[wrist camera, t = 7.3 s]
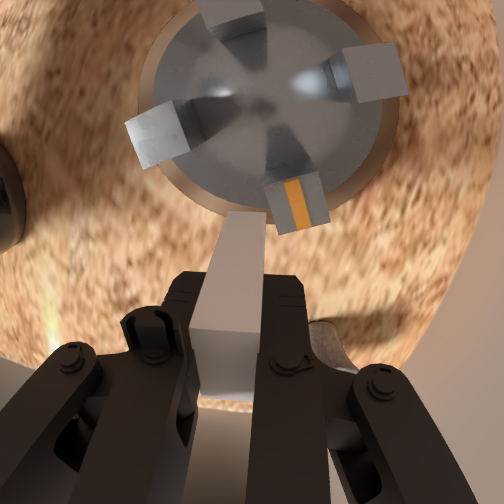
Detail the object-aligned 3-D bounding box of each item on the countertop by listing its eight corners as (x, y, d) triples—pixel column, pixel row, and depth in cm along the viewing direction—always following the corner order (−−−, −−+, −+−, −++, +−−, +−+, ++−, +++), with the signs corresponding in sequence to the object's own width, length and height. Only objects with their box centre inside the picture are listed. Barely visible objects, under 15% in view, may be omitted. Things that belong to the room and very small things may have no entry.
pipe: (241, 354, 35) (234, 409, 28) (328, 299, 30) (340, 357, 23) (275, 377, 37) (272, 429, 30) (358, 329, 32) (373, 385, 25)
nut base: (107, 121, 23) (95, 124, 21) (255, -48, 14) (253, -59, 12) (276, 256, 28) (276, 269, 26) (432, 107, 20) (444, 109, 18)
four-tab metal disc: (206, 217, 24) (182, 261, 18) (141, 48, 18) (92, 35, 11) (388, 169, 21) (427, 199, 15) (333, -12, 14) (355, -50, 8)
